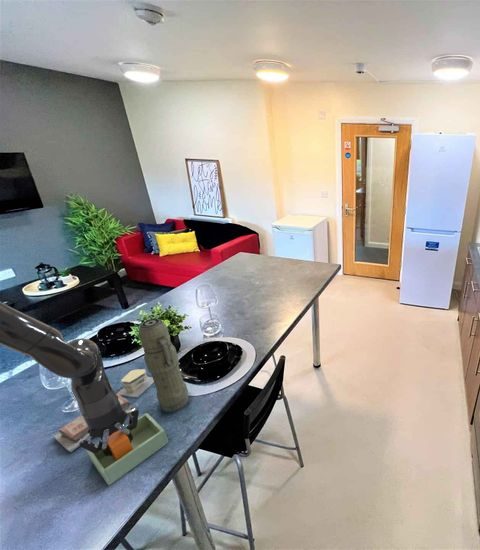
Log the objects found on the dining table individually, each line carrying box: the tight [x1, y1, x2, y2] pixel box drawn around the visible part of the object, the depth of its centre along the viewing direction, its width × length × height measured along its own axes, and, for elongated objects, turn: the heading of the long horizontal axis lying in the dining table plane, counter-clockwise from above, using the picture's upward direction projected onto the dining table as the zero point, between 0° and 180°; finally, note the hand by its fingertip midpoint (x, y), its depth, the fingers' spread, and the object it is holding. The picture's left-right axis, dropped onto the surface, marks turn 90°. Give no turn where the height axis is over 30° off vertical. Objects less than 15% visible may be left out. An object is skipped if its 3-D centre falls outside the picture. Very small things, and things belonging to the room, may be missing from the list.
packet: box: [108, 430, 133, 461], centre depth 85 cm, size 4×7×8 cm, turn 58°
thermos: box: [137, 318, 190, 413], centre depth 99 cm, size 9×12×35 cm
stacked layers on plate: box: [116, 368, 154, 398], centre depth 111 cm, size 10×9×6 cm
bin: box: [85, 412, 169, 486], centre depth 88 cm, size 16×12×6 cm
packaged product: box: [53, 393, 133, 453], centre depth 96 cm, size 18×5×10 cm
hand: (119, 447), depth 85 cm, fingers closed on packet, 4 cm apart
